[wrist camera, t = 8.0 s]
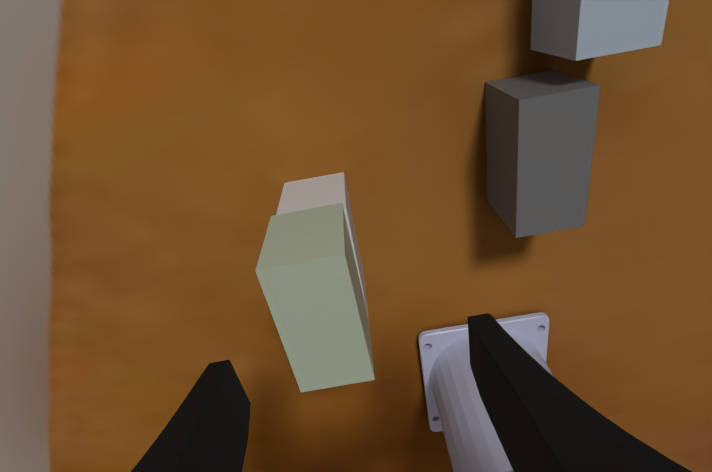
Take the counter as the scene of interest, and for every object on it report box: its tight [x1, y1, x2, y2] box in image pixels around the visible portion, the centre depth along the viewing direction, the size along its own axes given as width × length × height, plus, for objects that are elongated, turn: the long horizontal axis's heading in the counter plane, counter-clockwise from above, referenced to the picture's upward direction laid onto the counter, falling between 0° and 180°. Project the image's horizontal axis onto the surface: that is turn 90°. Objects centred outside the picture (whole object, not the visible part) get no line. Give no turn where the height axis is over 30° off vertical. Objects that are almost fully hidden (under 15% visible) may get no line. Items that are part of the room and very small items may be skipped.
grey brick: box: [276, 172, 368, 314], centre depth 20 cm, size 6×3×4 cm, turn 10°
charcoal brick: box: [485, 70, 601, 238], centre depth 19 cm, size 6×3×4 cm, turn 10°
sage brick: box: [256, 203, 375, 392], centre depth 17 cm, size 6×3×4 cm, turn 11°
